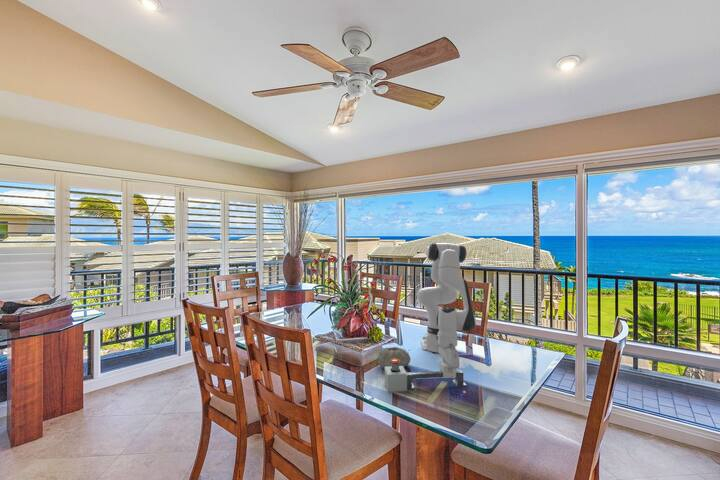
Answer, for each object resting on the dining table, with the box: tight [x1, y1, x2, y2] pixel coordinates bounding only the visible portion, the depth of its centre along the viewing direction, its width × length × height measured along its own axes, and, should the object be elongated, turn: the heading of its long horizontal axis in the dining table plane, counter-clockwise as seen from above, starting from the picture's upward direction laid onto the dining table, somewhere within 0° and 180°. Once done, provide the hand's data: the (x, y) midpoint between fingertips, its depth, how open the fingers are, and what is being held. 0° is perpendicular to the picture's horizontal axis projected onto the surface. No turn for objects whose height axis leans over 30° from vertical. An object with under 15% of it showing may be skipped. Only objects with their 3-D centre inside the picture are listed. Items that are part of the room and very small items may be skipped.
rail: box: [406, 369, 468, 390], centre depth 155 cm, size 6×30×6 cm, turn 94°
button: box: [391, 358, 400, 372], centre depth 153 cm, size 4×4×7 cm
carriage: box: [439, 361, 457, 379], centre depth 155 cm, size 5×6×6 cm
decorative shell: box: [377, 346, 411, 369], centre depth 177 cm, size 18×18×10 cm
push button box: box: [384, 366, 408, 393], centre depth 153 cm, size 9×9×8 cm
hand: (448, 369), depth 155 cm, fingers closed on carriage, 5 cm apart
